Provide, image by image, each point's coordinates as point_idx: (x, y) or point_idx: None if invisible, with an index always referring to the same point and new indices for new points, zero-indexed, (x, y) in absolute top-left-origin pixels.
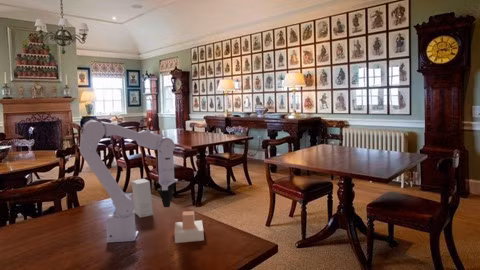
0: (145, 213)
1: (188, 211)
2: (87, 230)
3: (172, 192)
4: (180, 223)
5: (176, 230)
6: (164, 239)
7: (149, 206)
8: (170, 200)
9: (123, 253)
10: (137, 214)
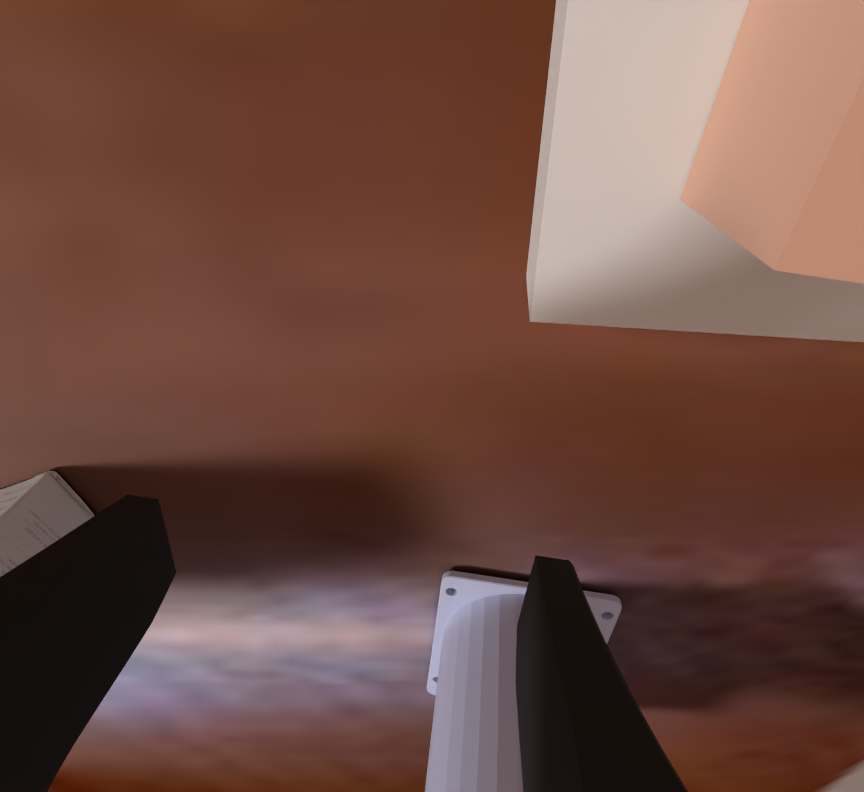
0: None
1: (851, 127)
2: (339, 763)
3: (3, 632)
4: (597, 247)
5: (858, 317)
6: (698, 391)
7: (2, 558)
8: (593, 675)
9: (807, 645)
10: None
